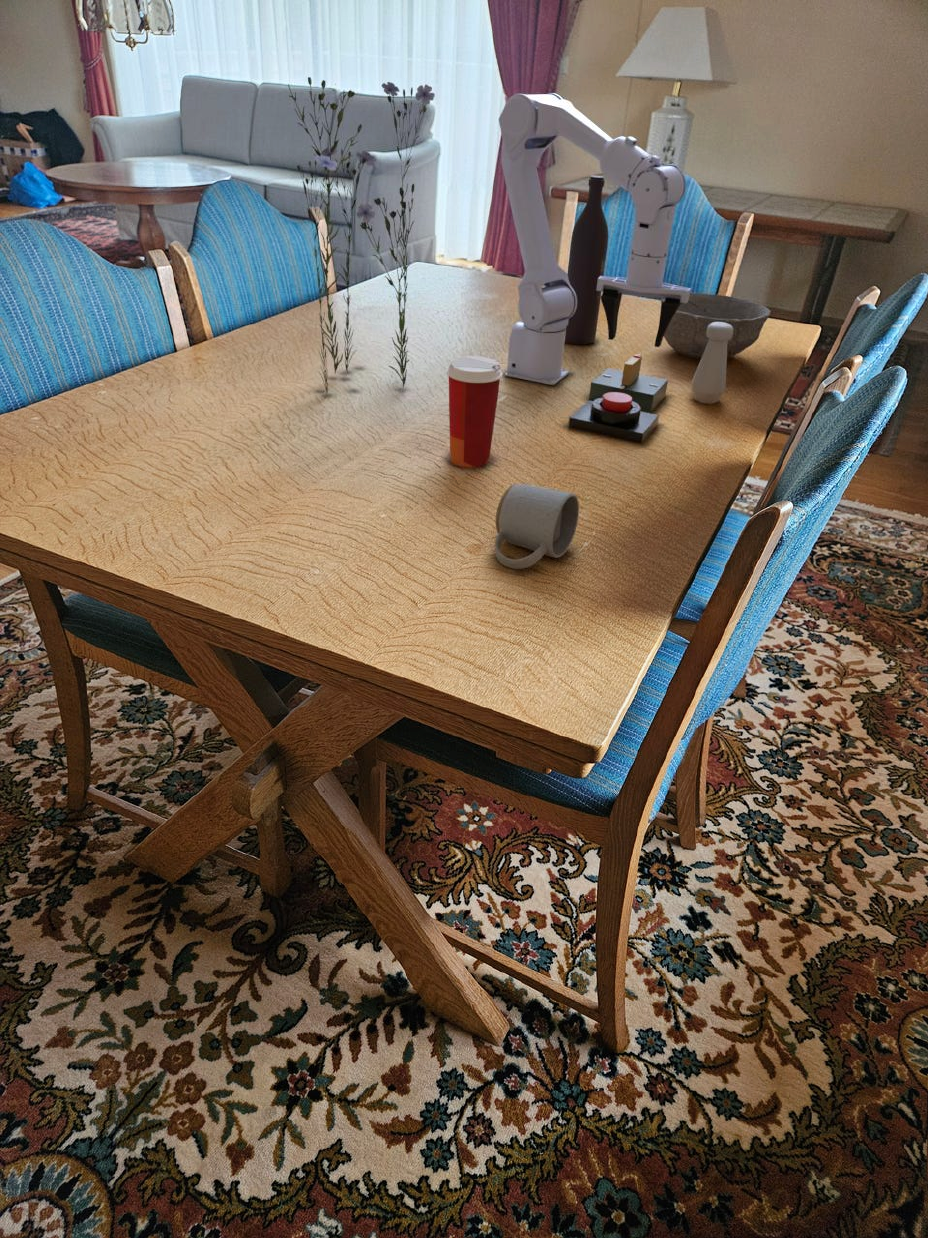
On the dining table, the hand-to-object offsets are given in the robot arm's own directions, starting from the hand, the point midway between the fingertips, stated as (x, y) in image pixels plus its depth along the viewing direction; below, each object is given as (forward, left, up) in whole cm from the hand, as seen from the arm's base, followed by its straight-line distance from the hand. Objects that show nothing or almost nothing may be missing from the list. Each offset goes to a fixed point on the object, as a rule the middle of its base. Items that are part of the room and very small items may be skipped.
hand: (634, 341), depth 141 cm
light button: (+2, -11, -7) cm, 14 cm away
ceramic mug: (+6, -55, -11) cm, 57 cm away
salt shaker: (+12, +10, -11) cm, 18 cm away
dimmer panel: (0, +3, -10) cm, 11 cm away
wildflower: (-41, -16, -11) cm, 46 cm away
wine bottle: (-19, +30, -11) cm, 37 cm away
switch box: (+2, -11, -10) cm, 15 cm away
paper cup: (-12, -35, -11) cm, 39 cm away
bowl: (+6, +35, -11) cm, 37 cm away
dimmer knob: (0, +3, -7) cm, 8 cm away
